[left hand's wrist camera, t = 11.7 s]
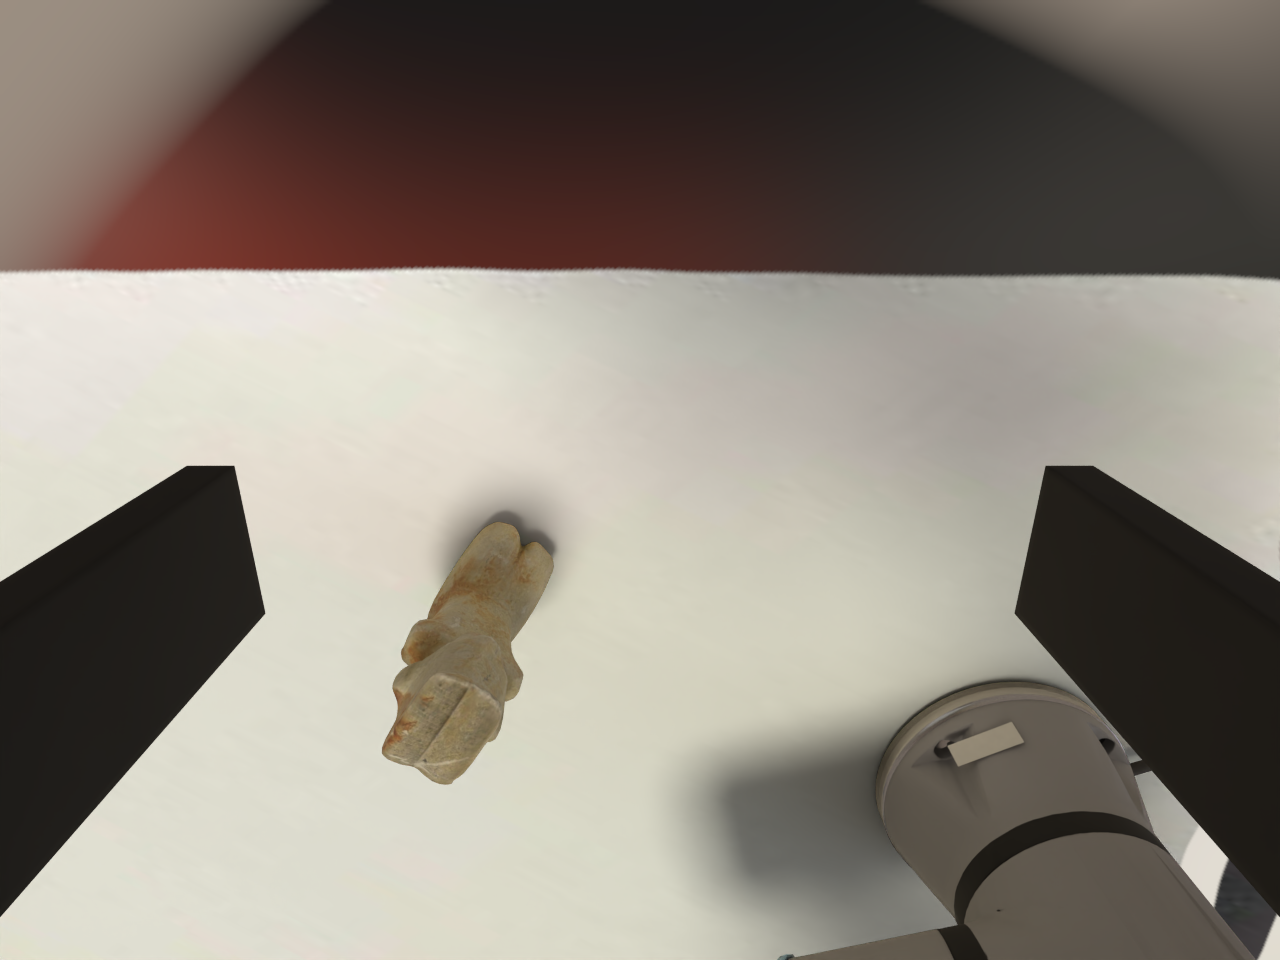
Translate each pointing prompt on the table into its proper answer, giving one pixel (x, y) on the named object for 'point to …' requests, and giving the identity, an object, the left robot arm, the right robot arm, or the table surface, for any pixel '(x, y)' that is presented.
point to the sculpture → (466, 655)
